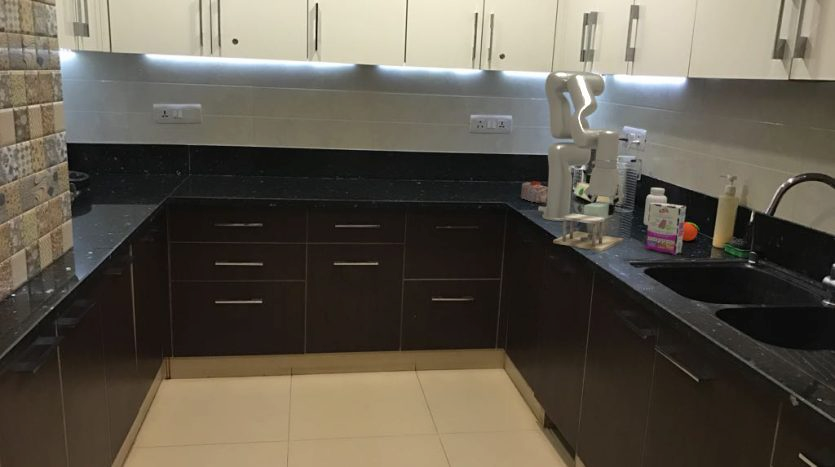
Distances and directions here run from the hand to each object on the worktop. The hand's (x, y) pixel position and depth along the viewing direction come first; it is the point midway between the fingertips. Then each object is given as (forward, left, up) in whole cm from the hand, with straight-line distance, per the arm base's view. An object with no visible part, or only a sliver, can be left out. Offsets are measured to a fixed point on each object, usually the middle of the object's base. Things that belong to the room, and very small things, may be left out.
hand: (602, 213), depth 257 cm
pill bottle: (+8, +37, -9) cm, 39 cm away
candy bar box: (+25, -5, -9) cm, 27 cm away
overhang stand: (0, -10, -9) cm, 13 cm away
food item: (-53, +51, -9) cm, 74 cm away
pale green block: (0, -4, -1) cm, 4 cm away
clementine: (+27, +17, -9) cm, 33 cm away
